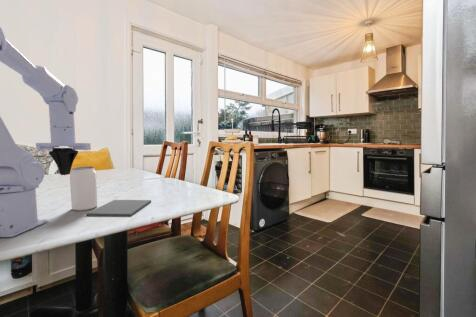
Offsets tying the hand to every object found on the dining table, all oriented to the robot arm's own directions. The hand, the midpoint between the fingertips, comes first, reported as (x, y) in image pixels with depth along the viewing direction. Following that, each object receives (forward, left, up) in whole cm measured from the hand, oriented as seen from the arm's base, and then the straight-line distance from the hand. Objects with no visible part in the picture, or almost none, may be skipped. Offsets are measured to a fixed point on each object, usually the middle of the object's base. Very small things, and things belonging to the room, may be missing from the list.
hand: (65, 174), depth 69 cm
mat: (0, -16, -10) cm, 19 cm away
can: (0, -5, -10) cm, 11 cm away
